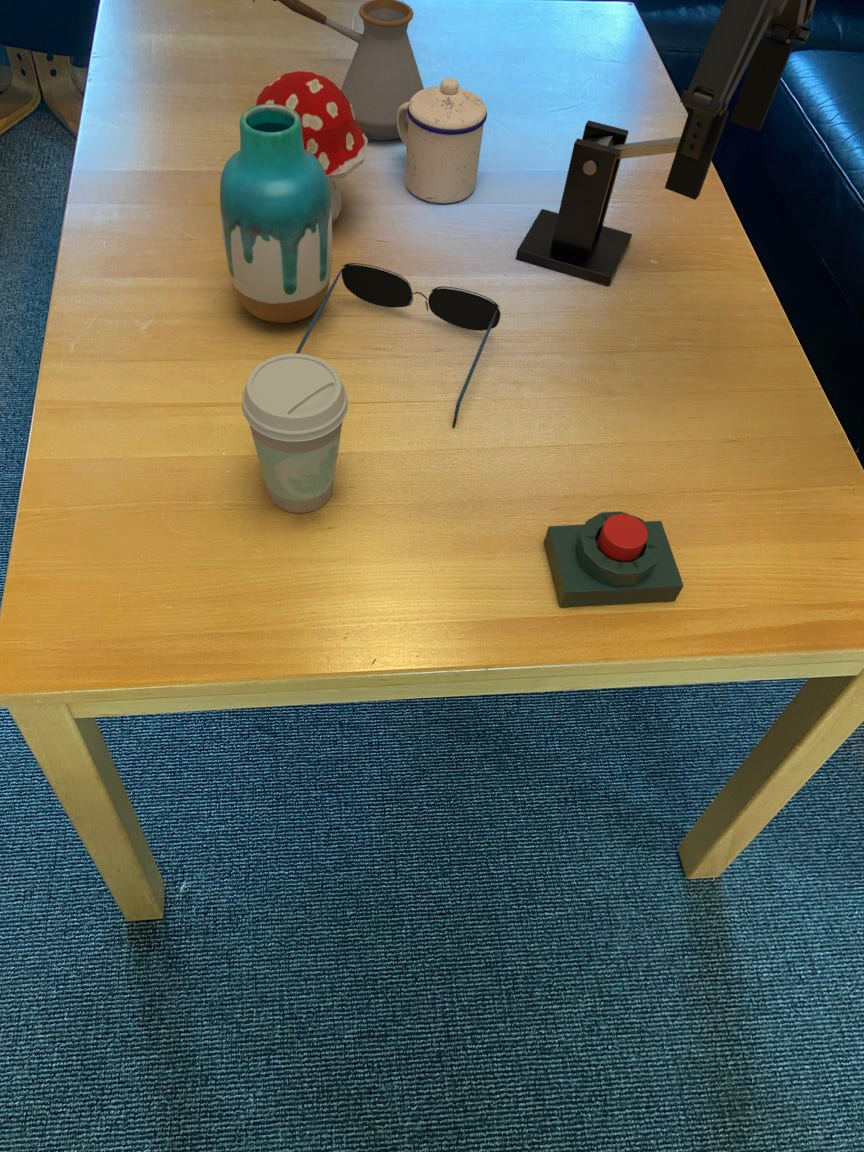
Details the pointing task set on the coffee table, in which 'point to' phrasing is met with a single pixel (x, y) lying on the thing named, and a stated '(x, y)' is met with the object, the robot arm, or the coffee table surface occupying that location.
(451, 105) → the teacup with lid
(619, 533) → the button
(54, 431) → the coffee table surface
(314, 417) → the coffee cup
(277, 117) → the vase
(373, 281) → the sunglasses
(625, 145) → the lever
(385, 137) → the coffee pot
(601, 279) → the black lever stand
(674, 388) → the coffee table surface
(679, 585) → the button housing
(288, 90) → the decorative mushroom
